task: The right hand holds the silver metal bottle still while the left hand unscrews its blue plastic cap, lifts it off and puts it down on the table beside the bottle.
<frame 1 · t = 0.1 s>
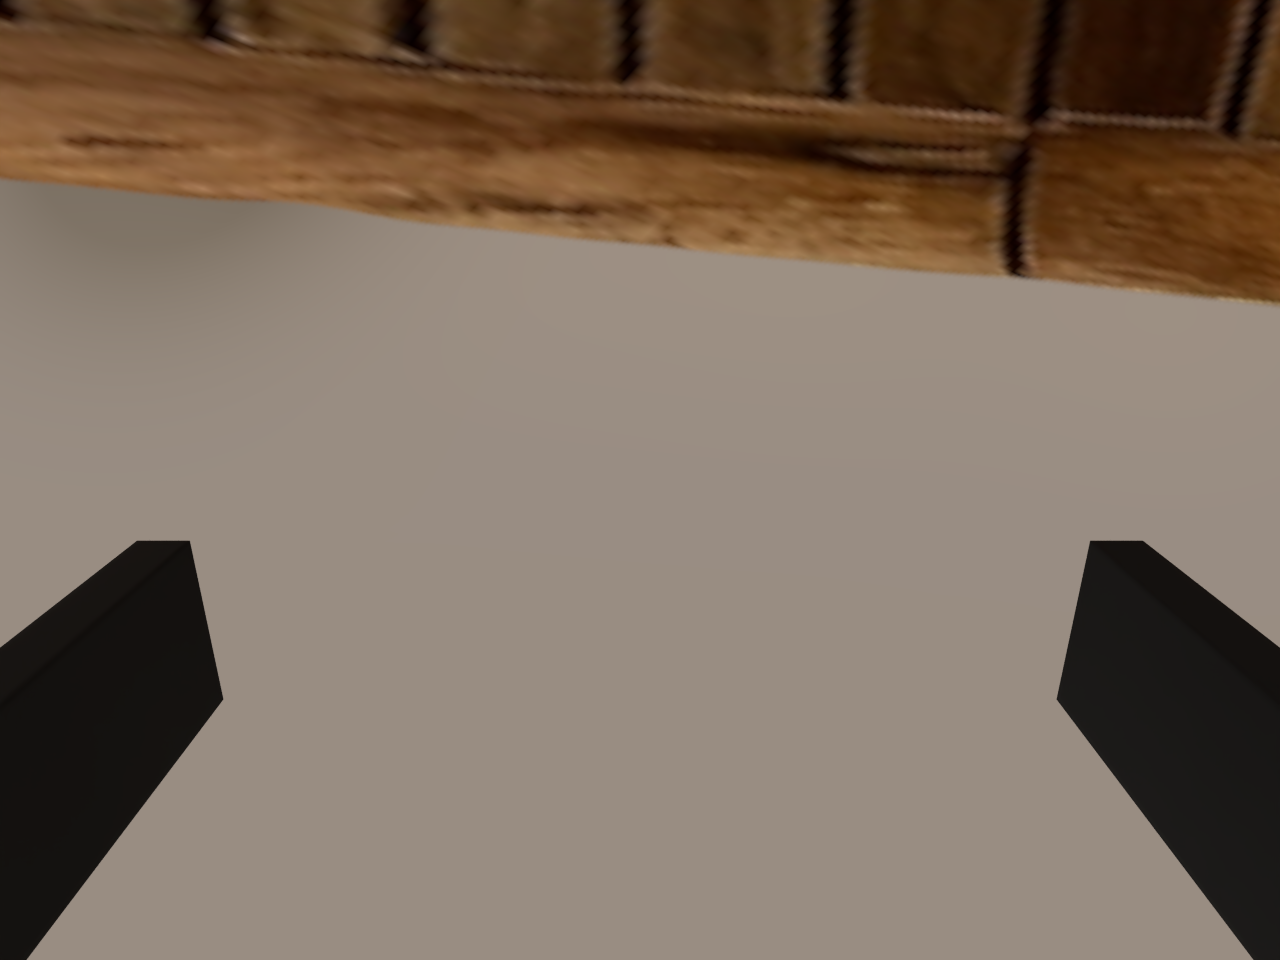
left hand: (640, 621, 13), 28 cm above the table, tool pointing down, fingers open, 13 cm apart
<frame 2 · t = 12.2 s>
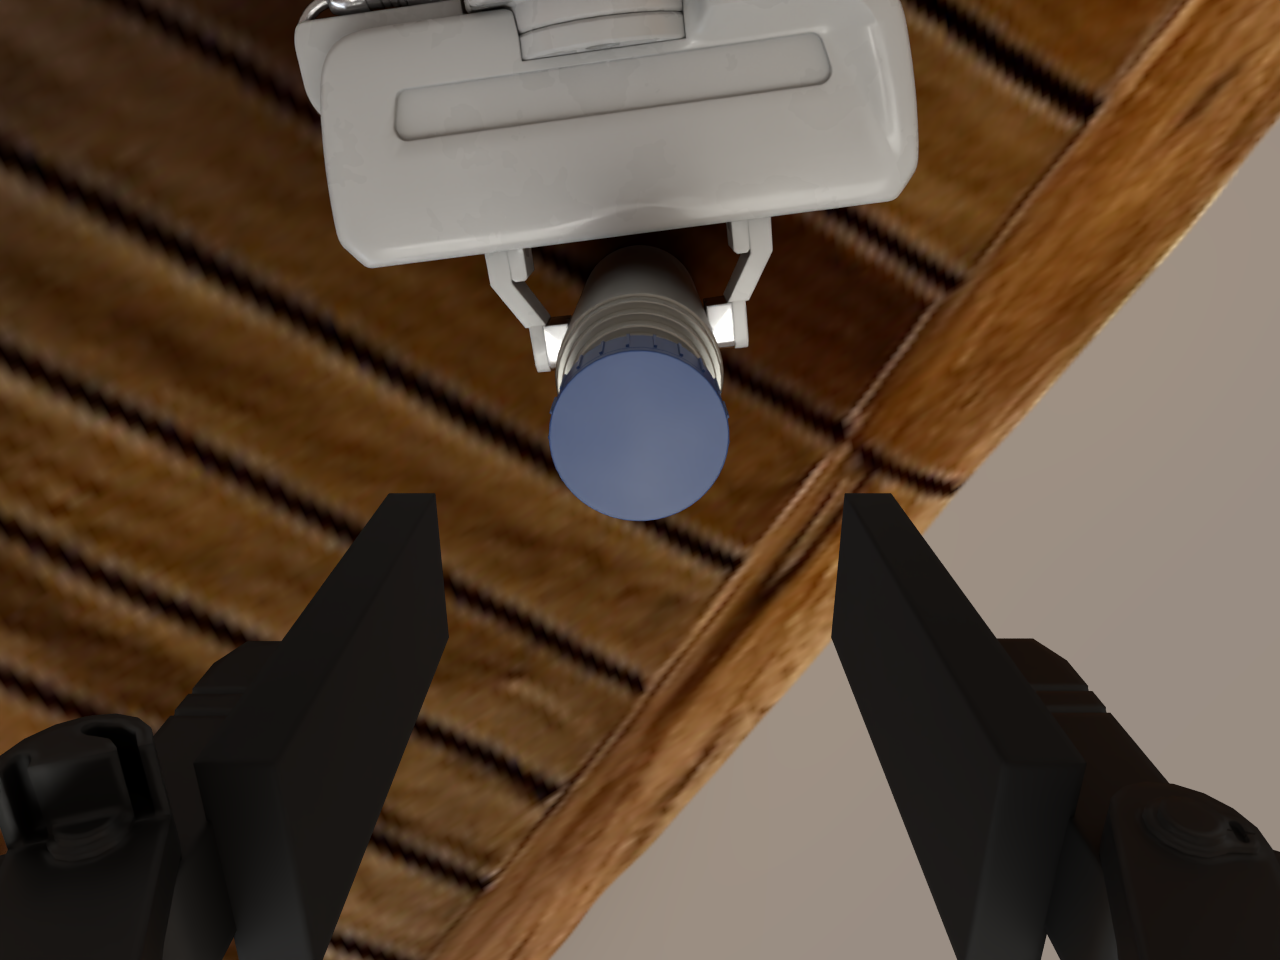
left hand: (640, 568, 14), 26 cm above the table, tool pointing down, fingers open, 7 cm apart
right hand: (643, 356, 33), fingers closed on bottle, 5 cm apart
bottle: (639, 303, 39), on the table, touching right hand
cap: (639, 435, 21), point 19 cm above the table, screwed on, not yet turned
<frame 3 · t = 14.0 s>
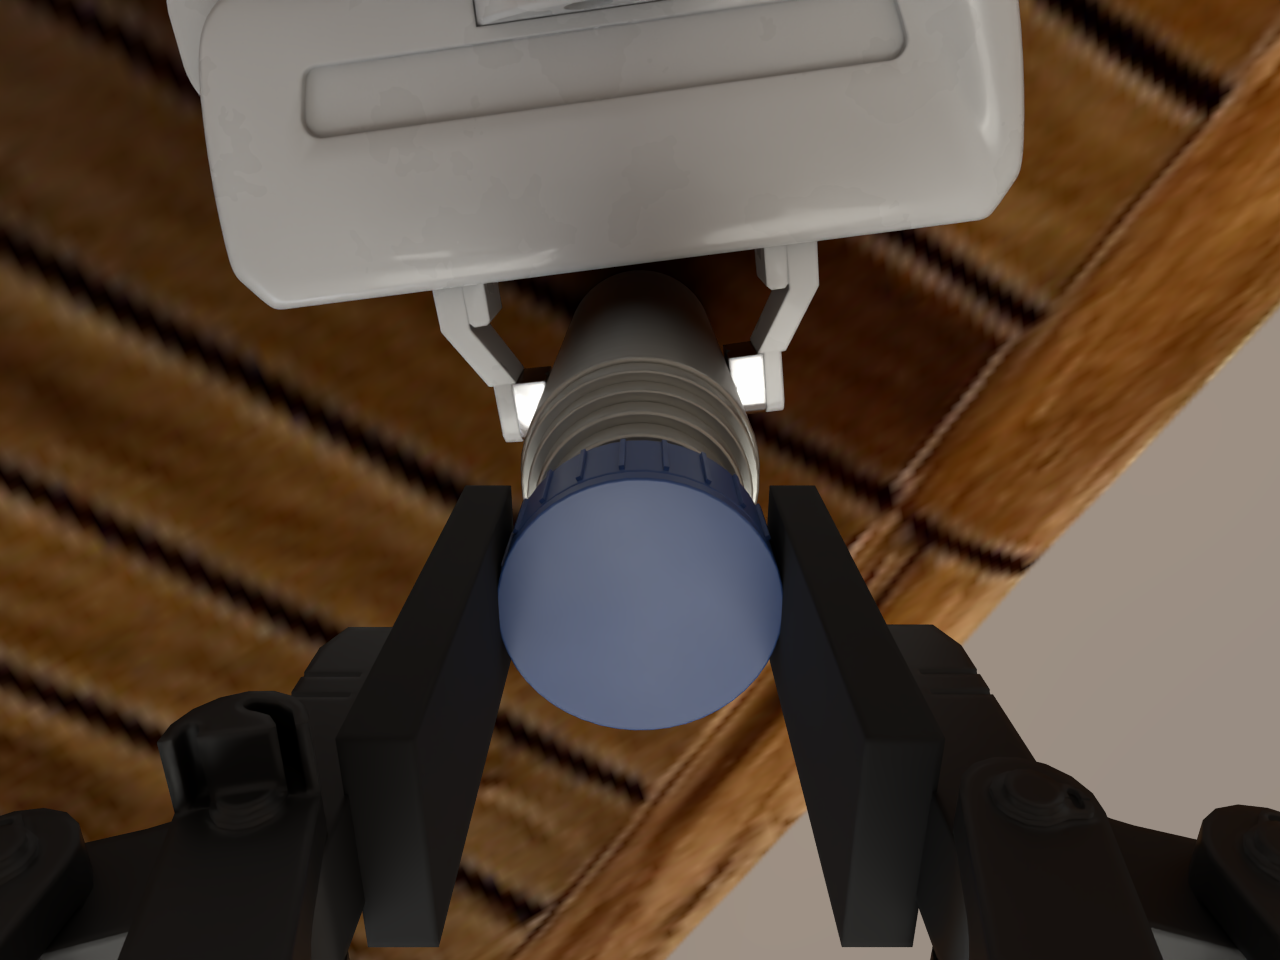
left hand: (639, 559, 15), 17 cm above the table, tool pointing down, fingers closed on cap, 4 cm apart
right hand: (645, 421, 25), fingers closed on bottle, 5 cm apart
bottle: (640, 342, 31), on the table, touching right hand
cap: (640, 602, 13), point 19 cm above the table, screwed on, not yet turned, touching left hand
when the left hand's fingers open (2 cm above the table, at t = 28.7 s): cap drops 2 cm, point 1 cm above the table.
when the right hand's fingers open (7 cm above the table, at t = 30.0 s): bottle stays where it is, on the table.
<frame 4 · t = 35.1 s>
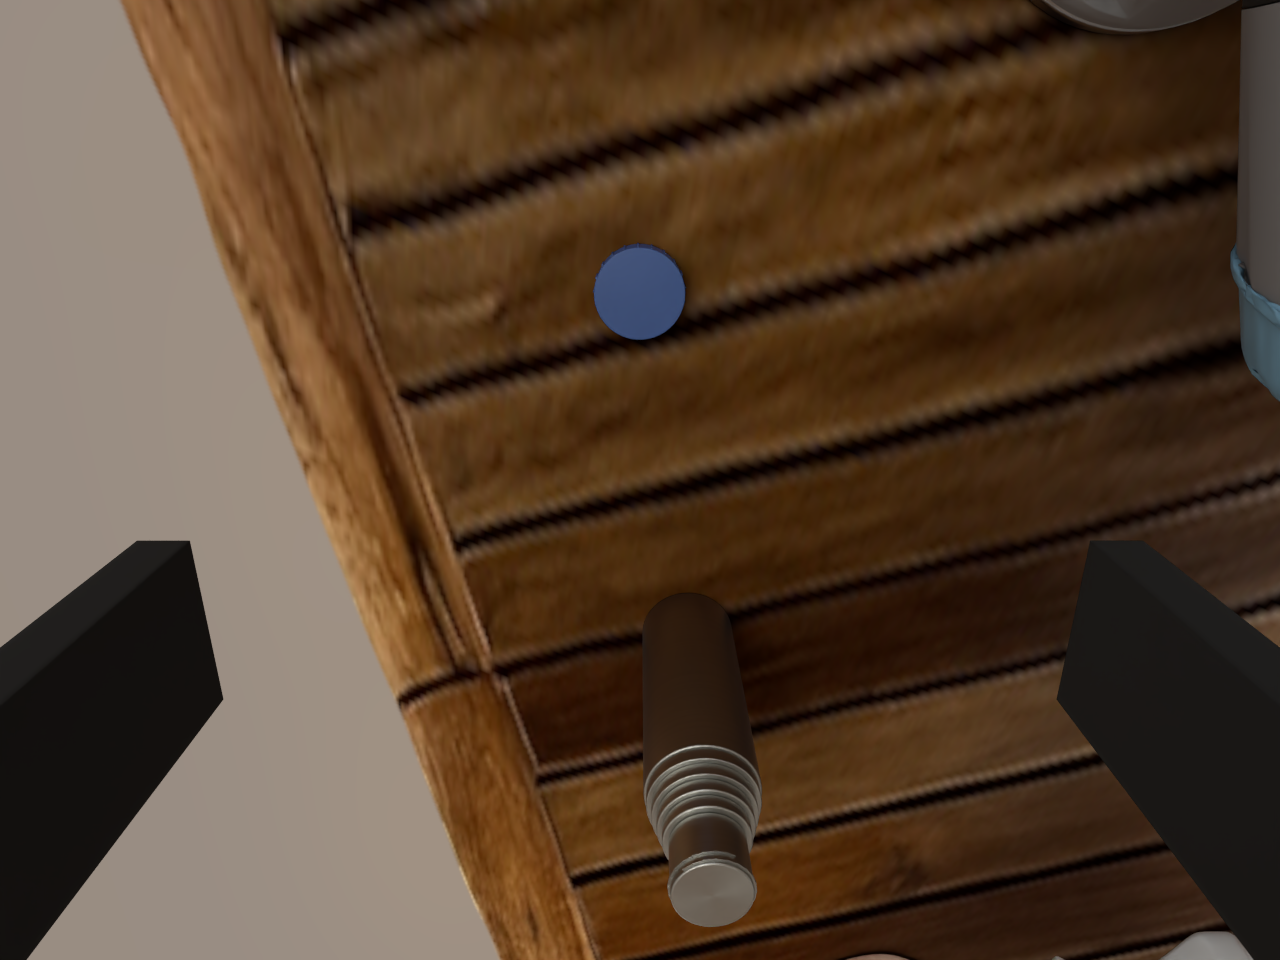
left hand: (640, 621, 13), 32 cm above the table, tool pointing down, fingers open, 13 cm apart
bottle: (687, 631, 50), on the table
cap: (639, 293, 41), point 1 cm above the table, off its thread
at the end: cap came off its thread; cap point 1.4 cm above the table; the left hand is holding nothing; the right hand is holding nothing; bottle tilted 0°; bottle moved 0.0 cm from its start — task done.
